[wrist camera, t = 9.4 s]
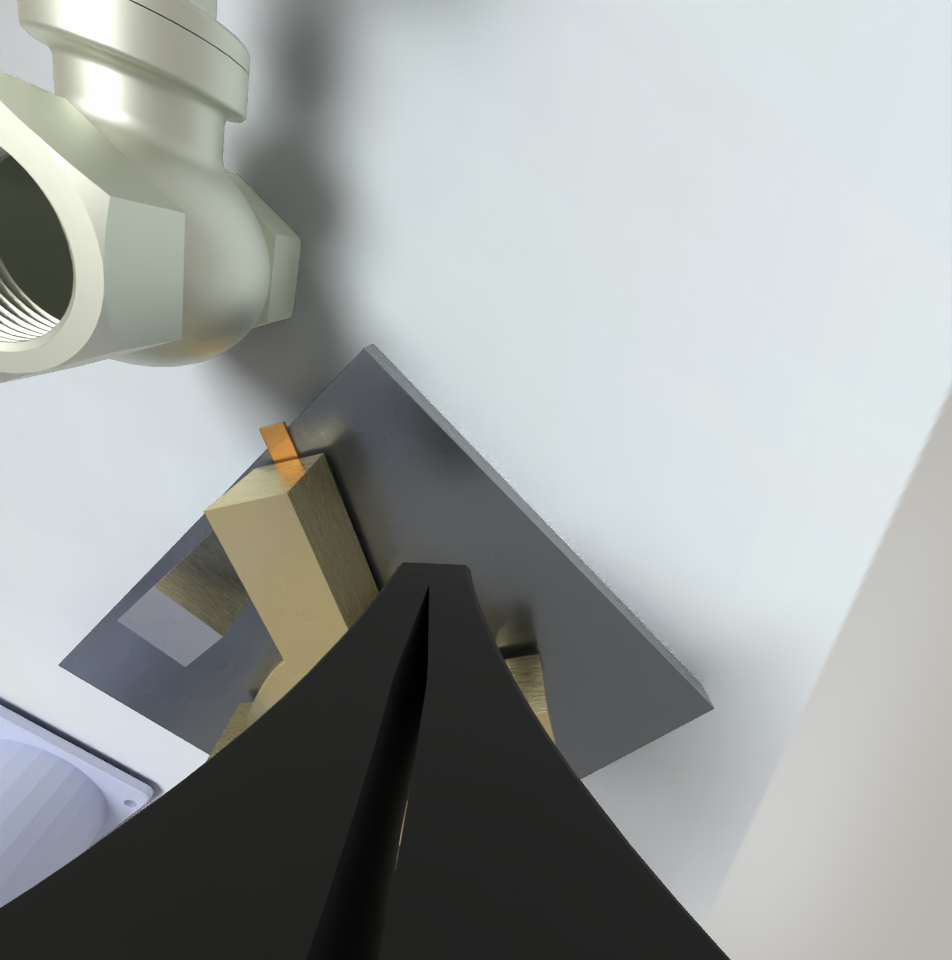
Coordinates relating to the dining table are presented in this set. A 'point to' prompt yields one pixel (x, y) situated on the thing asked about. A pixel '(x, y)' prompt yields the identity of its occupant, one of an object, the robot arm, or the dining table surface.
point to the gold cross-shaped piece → (309, 577)
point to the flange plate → (387, 544)
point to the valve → (131, 194)
